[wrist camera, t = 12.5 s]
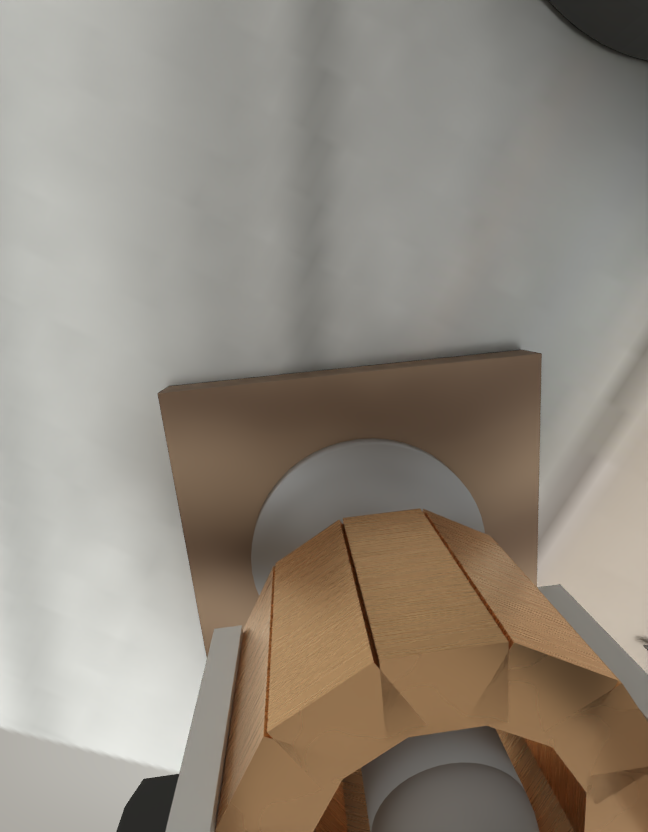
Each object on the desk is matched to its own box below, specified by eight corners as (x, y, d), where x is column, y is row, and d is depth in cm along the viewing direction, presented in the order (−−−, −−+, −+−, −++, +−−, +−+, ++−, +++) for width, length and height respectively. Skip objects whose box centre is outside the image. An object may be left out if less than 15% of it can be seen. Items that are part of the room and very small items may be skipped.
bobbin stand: (169, 386, 17) (-153, 590, 5) (521, 349, 18) (1049, 449, 5) (222, 684, 21) (112, 1261, 8) (518, 645, 21) (839, 1130, 9)
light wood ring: (226, 532, 12) (184, 687, 7) (530, 494, 12) (689, 616, 7) (266, 775, 14) (254, 1030, 9) (527, 736, 14) (651, 958, 9)
